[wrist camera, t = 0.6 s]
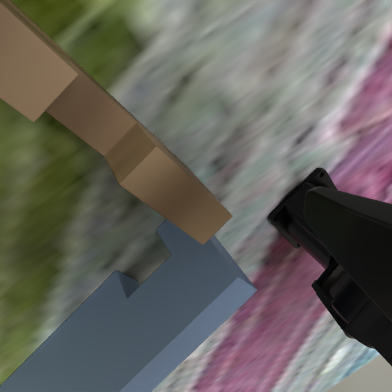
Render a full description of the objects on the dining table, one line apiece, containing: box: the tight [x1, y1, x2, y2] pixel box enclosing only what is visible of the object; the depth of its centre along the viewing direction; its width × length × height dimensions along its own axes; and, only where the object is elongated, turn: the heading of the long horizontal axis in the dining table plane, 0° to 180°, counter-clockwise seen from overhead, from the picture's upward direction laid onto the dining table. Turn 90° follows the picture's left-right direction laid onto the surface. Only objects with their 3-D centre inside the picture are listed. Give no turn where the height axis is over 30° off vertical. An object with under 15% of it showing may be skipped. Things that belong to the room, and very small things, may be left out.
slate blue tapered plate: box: [0, 219, 257, 392], centre depth 24 cm, size 24×2×8 cm, turn 131°
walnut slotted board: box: [0, 0, 232, 245], centre depth 16 cm, size 18×2×6 cm, turn 41°
